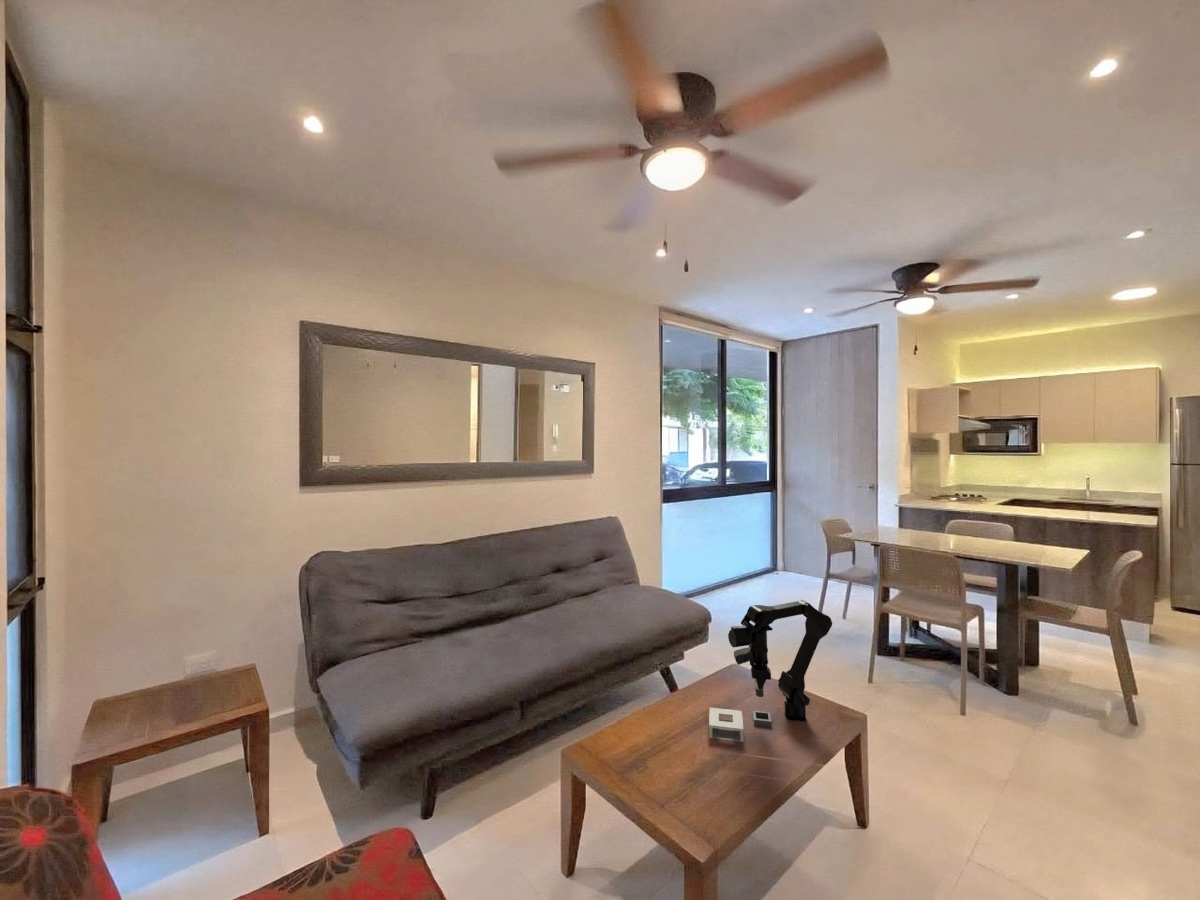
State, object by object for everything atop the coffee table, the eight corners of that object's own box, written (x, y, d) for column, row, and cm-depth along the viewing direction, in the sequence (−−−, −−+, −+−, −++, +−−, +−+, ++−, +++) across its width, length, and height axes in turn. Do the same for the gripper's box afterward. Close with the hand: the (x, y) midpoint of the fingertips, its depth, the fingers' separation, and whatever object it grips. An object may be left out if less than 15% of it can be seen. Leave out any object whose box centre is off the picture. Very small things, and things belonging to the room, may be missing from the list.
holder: (770, 718, 177) (770, 712, 177) (771, 727, 171) (771, 721, 171) (752, 716, 178) (752, 710, 178) (753, 725, 172) (753, 719, 172)
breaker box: (741, 724, 173) (741, 710, 173) (743, 743, 163) (743, 729, 162) (709, 720, 176) (709, 707, 176) (709, 739, 165) (709, 725, 165)
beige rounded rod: (763, 693, 175) (762, 672, 175) (764, 697, 172) (763, 676, 172) (755, 692, 176) (754, 671, 175) (755, 696, 173) (755, 675, 173)
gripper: (733, 631, 184) (734, 672, 185) (735, 653, 166) (737, 698, 167) (765, 633, 182) (766, 674, 182) (770, 655, 164) (771, 701, 164)
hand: (759, 686), depth 174 cm, fingers closed on beige rounded rod, 3 cm apart
